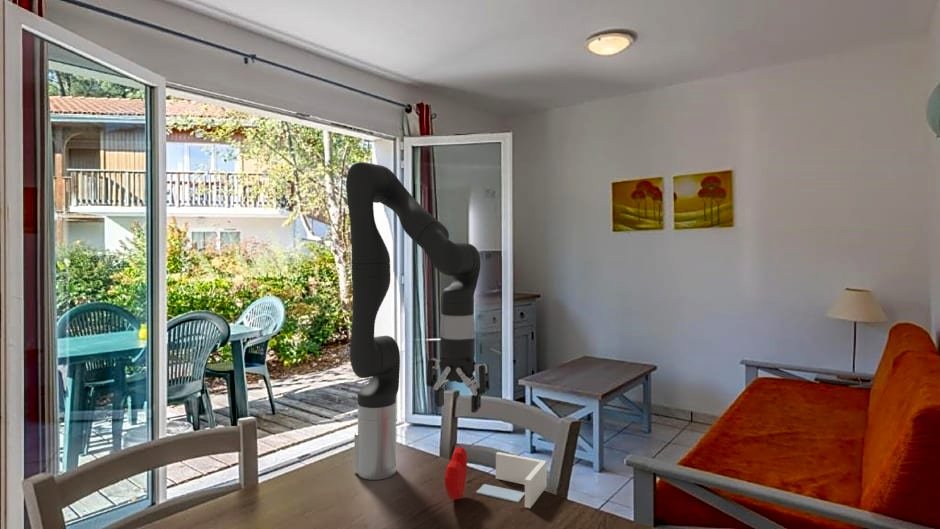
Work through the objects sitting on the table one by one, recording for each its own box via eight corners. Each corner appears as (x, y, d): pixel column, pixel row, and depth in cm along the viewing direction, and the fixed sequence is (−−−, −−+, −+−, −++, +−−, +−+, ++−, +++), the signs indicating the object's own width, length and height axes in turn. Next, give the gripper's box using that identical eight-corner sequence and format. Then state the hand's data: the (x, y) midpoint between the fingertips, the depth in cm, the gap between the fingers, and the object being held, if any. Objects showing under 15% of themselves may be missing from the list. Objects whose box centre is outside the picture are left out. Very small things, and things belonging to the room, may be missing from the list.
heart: (461, 517, 108) (459, 472, 107) (441, 515, 109) (439, 470, 107) (472, 484, 120) (470, 443, 118) (454, 482, 121) (452, 442, 119)
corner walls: (477, 496, 116) (477, 469, 115) (497, 476, 126) (497, 452, 126) (530, 508, 110) (530, 480, 110) (546, 486, 120) (546, 461, 120)
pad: (476, 493, 117) (476, 491, 117) (484, 485, 121) (484, 483, 121) (518, 502, 113) (518, 501, 113) (525, 494, 117) (525, 492, 117)
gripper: (420, 335, 113) (420, 409, 114) (480, 340, 107) (479, 418, 107) (437, 330, 120) (437, 400, 120) (494, 334, 114) (494, 408, 114)
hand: (457, 408), depth 114 cm, fingers open, 8 cm apart
